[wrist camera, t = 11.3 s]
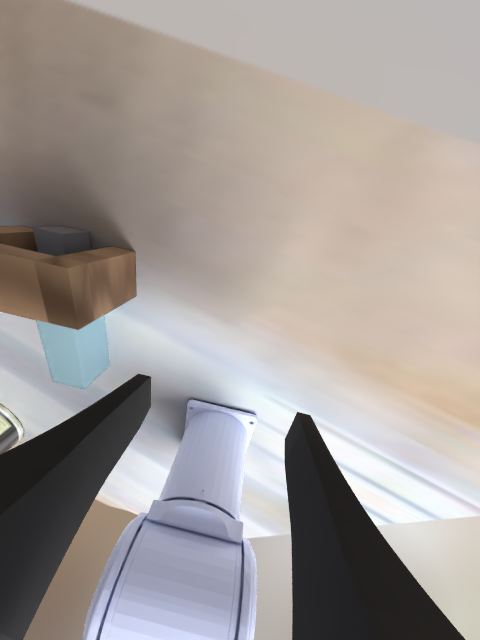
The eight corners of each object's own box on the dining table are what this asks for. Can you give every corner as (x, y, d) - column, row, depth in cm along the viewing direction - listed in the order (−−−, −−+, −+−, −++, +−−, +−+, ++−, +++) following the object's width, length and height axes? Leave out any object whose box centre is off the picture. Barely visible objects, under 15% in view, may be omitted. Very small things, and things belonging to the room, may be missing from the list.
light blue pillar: (109, 365, 24) (84, 389, 20) (82, 359, 24) (52, 381, 20) (95, 233, 17) (55, 236, 14) (57, 224, 17) (10, 226, 14)
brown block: (136, 296, 19) (78, 330, 13) (32, 272, 20) (-69, 295, 14) (135, 251, 18) (67, 268, 12) (21, 225, 18) (-102, 229, 12)
